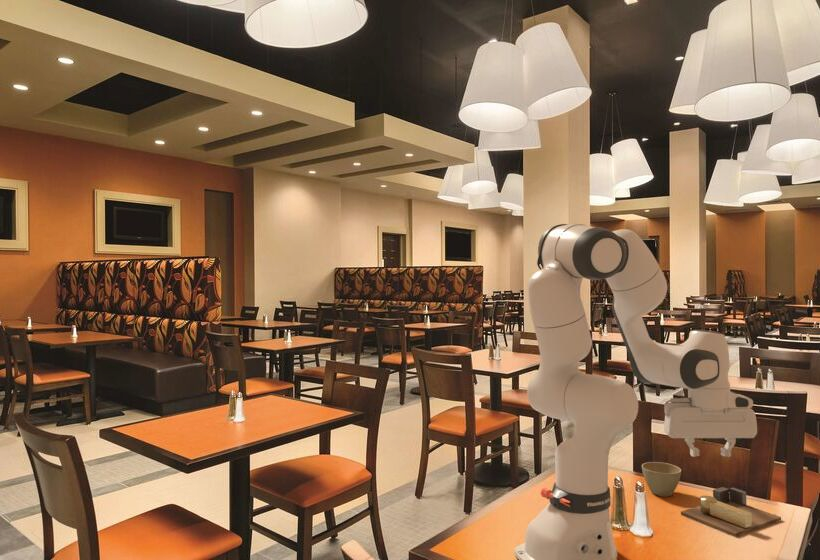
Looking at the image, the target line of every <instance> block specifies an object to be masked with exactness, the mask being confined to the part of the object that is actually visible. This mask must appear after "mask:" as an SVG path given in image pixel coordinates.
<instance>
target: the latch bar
mask: <svg viewBox="0 0 820 560" xmlns="http://www.w3.org/2000/svg"><path fill="white" fill-rule="evenodd" d="M699 506H700V511H701V512H703V513H705V514H710V515H713V516H715V517H718V518H720V519H723V520H726V521H728V522H731V523H733V524H736V525H739V526H741V527H744V528H747V527H750V526H752V514H751V513H750V512H747V511H745V510H742V509H739V508H736V507H733V506H731V505H728V504H725V503H722V502H720V501H717V500H716V498H714V497H713V496H710V495H700V496H699Z"/></svg>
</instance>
